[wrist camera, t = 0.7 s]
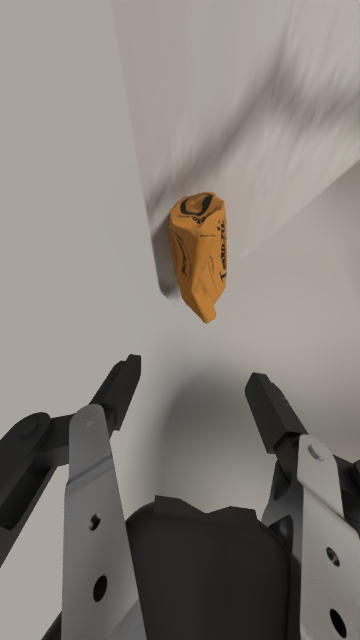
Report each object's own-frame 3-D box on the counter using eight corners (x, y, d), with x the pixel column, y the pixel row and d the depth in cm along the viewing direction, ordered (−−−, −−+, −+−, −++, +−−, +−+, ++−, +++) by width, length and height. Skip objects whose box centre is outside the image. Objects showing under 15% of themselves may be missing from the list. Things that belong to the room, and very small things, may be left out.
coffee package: (223, 187, 25) (275, 203, 10) (217, 258, 34) (241, 325, 19) (168, 195, 27) (137, 221, 11) (176, 261, 35) (166, 328, 20)
